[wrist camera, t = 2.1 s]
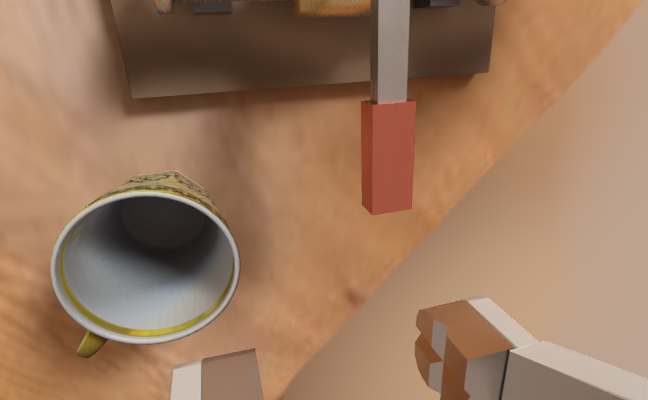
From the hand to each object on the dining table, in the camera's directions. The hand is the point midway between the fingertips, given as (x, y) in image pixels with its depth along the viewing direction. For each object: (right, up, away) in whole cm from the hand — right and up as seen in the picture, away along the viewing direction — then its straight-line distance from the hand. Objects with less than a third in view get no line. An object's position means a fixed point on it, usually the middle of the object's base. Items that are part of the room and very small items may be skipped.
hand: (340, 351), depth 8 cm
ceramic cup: (-14, +1, +23) cm, 27 cm away
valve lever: (+2, +10, +14) cm, 18 cm away
